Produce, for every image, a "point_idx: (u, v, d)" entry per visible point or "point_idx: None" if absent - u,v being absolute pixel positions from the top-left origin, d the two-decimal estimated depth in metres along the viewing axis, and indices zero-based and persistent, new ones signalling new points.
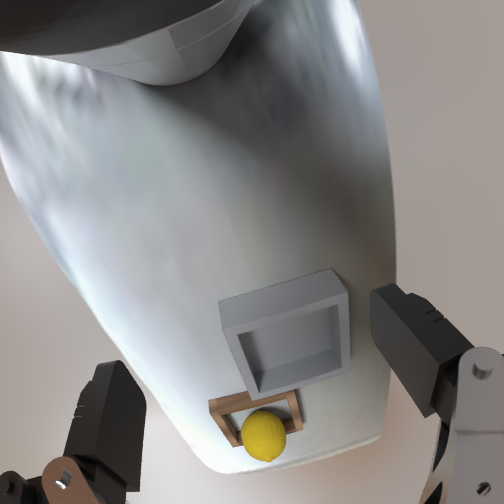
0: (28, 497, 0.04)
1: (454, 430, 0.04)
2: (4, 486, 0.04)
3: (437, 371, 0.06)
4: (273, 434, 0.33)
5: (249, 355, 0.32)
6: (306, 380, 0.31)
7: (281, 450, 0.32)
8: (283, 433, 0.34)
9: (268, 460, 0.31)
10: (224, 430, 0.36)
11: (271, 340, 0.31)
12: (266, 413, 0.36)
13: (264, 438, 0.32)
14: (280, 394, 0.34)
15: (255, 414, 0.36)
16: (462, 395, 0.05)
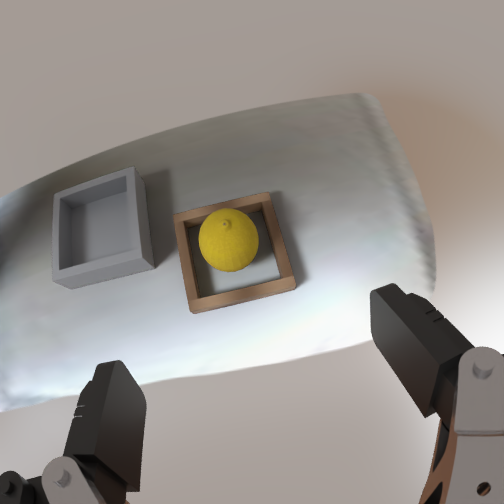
0: (28, 497, 0.04)
1: (454, 430, 0.04)
2: (4, 486, 0.04)
3: (437, 371, 0.06)
4: None
5: None
6: (129, 205, 0.31)
7: (220, 211, 0.27)
8: None
9: (221, 225, 0.26)
10: (238, 295, 0.30)
11: (106, 245, 0.33)
12: None
13: (199, 237, 0.28)
14: (175, 229, 0.32)
15: None
16: (462, 395, 0.05)
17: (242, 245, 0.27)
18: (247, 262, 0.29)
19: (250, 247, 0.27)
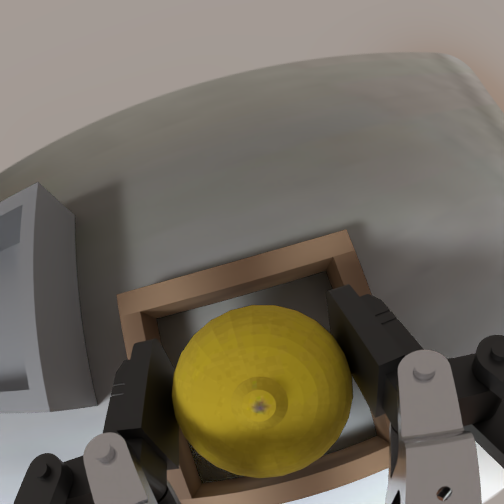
0: (67, 479, 0.05)
1: (402, 439, 0.04)
2: (40, 470, 0.05)
3: (378, 372, 0.06)
4: None
5: None
6: (21, 276, 0.11)
7: (237, 332, 0.07)
8: None
9: (249, 412, 0.06)
10: (288, 494, 0.10)
11: (8, 347, 0.13)
12: None
13: (173, 405, 0.08)
14: (123, 331, 0.13)
15: None
16: (405, 402, 0.05)
17: (321, 448, 0.06)
18: None
19: (340, 433, 0.07)
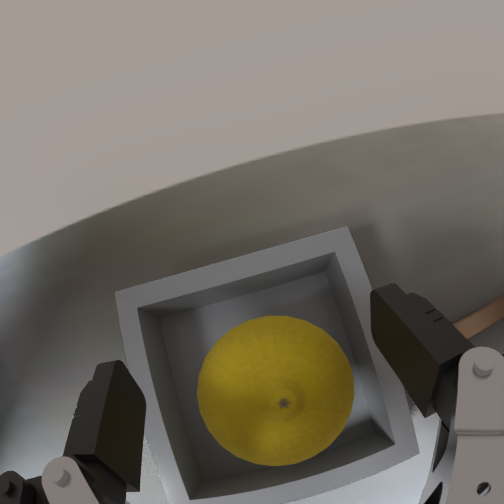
0: (28, 497, 0.04)
1: (454, 430, 0.04)
2: (4, 486, 0.04)
3: (437, 371, 0.06)
4: (201, 369, 0.10)
5: None
6: (370, 336, 0.12)
7: (260, 341, 0.09)
8: (232, 328, 0.11)
9: (274, 407, 0.07)
10: None
11: None
12: None
13: (200, 404, 0.09)
14: None
15: None
16: (462, 395, 0.05)
17: (329, 437, 0.08)
18: None
19: None
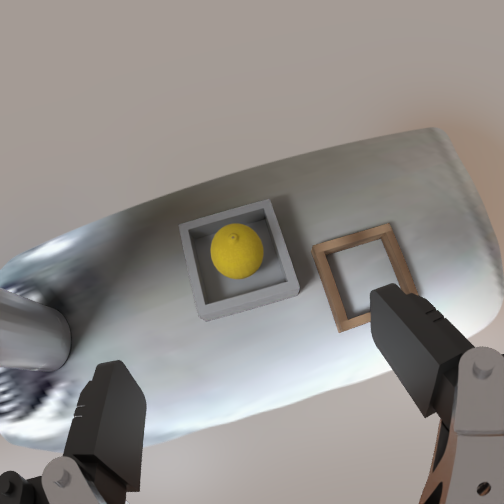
0: (28, 497, 0.04)
1: (454, 430, 0.04)
2: (4, 486, 0.04)
3: (437, 371, 0.06)
4: None
5: None
6: (275, 238, 0.35)
7: (229, 226, 0.31)
8: None
9: (230, 238, 0.30)
10: None
11: None
12: None
13: (211, 249, 0.32)
14: (317, 258, 0.36)
15: None
16: (462, 395, 0.05)
17: (249, 255, 0.31)
18: (253, 270, 0.33)
19: (256, 257, 0.31)
